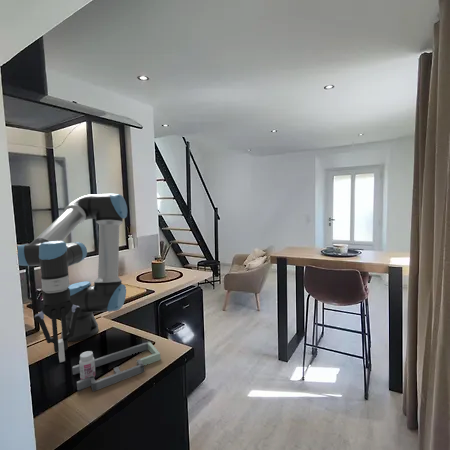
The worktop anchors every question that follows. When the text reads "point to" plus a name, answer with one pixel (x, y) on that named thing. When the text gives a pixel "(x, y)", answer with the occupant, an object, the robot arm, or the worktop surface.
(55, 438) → the worktop surface
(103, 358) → the channel
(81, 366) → the pill bottle
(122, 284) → the robot arm
